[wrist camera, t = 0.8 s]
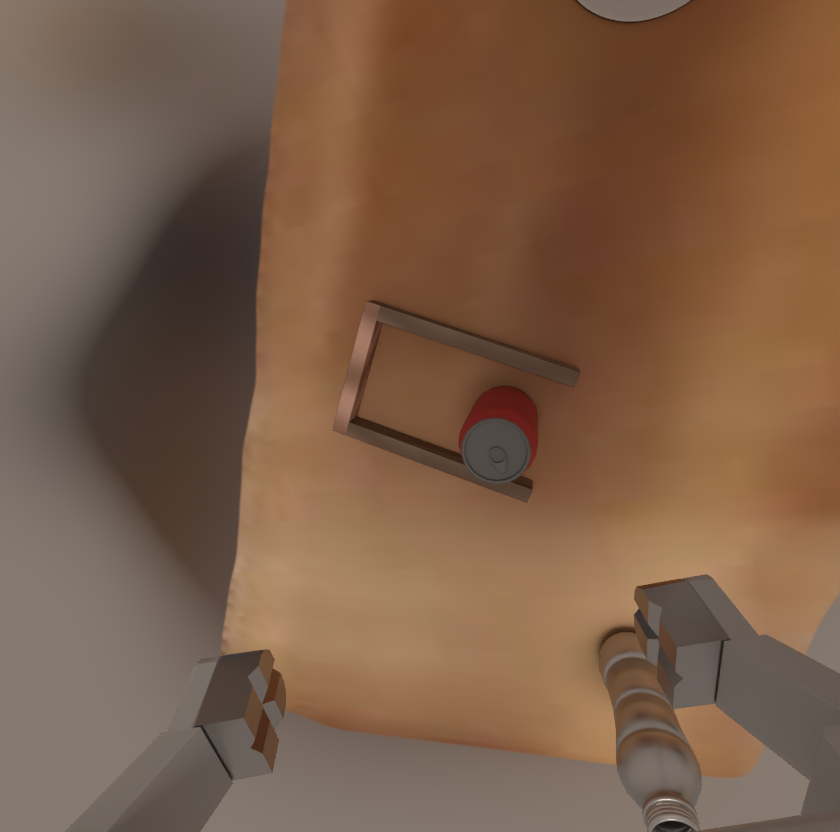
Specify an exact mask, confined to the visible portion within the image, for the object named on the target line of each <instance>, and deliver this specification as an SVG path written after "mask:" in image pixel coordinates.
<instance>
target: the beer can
mask: <svg viewBox="0 0 840 832" xmlns="http://www.w3.org/2000/svg"><path fill="white" fill-rule="evenodd" d="M537 445H538V419H537V412H536V407H535V406H534V404H533V402H532V400H531V399H530V398H529V397H528V396H527V395H526V394H525V393H524V392H522V391H520V390H518V389H516V388H514V387H506V386H501V387H495V388H492V389H490V390H488V391H486V392H484V393H483V394H482V395H481V396H480V397H479V398H478V399H477V401H476V403H475V405H474V406H473V408H472V410H471V412H470V414H469V415H468V417H467V419H466V421H465V423H464V425H463V427H462V429H461V431H460V437H459V448H460V452H461V457H462V459H463V462H464V464H465V466H466V467H467V469H468V471H469V472H470V473H471V474H473V475H474V476H475V477H476V478H477V479H480V480H482V481H484V482H486V483H491V484H503V483H508V482H511V481H513V480H515V479H517V478H518V477H519V476H520V475H521V474H523V473H524V472H525V471H526V470H527V469H528V468H529V467H530V466H531V464H532V462H533V460H534V458H535V456H536V452H537Z"/></svg>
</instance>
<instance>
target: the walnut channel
mask: <svg viewBox="0 0 840 832" xmlns="http://www.w3.org/2000/svg"><path fill="white" fill-rule="evenodd" d="M382 323H385V324H388V325H391V326H394V327H397V328H400V329H403V330H405V331H408V332H411V333H414V334H417V335H420V336H423V337H426V338H429V339H432V340H435V341H438V342H441V343H444V344H447V345H450V346H453V347H456V348H459V349H462V350H465V351H468V352H471V353H474V354H477V355H480V356H483V357H486V358H489V359H492V360H495V361H498V362H500V363H503V364H506V365H509V366H512V367H515V368H518V369H521V370H524V371H527V372H530V373H533V374H536V375H539V376H542V377H545V378H548V379H551V380H554V381H557V382H560V383H563V384H566V385H569V386H572V387H574V386H575V383H576V381H577V378H578V376H579V373H580V371H579V369H578V368H576V367H573V366H570V365H567V364H564V363H561V362H558V361H555V360H552V359H549V358H546V357H543V356H539V355H536V354H533V353H530V352H527V351H524V350H521V349H518V348H515V347H512V346H509V345H506V344H503V343H500V342H497V341H494V340H491V339H488V338H485V337H482V336H479V335H476V334H473V333H470V332H467V331H464V330H461V329H458V328H455V327H452V326H449V325H446V324H443V323H440V322H437V321H434V320H431V319H428V318H425V317H422V316H419V315H416V314H413V313H410V312H407V311H404V310H401V309H398V308H395V307H392V306H389V305H386V304H383V303H380V302H377V301H366V303H365V307H364V311H363V315H362V318H361V322H360V326H359V330H358V334H357V338H356V342H355V345H354V349H353V353H352V357H351V361H350V365H349V368H348V372H347V376H346V380H345V384H344V388H343V391H342V395H341V399H340V403H339V407H338V411H337V414H336V418H335V422H334V426H333V431H336V432H338V433H341V434H344V435H346V436H349V437H352V438H354V439H357V440H360V441H362V442H365V443H368V444H370V445H373V446H376V447H379V448H381V449H384V450H387V451H389V452H392V453H395V454H397V455H400V456H403V457H405V458H408V459H411V460H413V461H416V462H419V463H421V464H424V465H427V466H429V467H432V468H435V469H438V470H440V471H443V472H446V473H448V474H451V475H454V476H456V477H459V478H462V479H464V480H467V481H470V482H472V483H475V484H478V485H480V486H483V487H486V488H488V489H491V490H494V491H497V492H499V493H502V494H505V495H507V496H510V497H513V498H515V499H518V500H521V501H523V502H526V503H527V502H528V499H529V497H530V494H531V492H532V483H533V481H531V480H529V479H526V478H523V477H520V476H519V477H518V478H517V479H515V480H513V481H511V482H508V483H503V484H491V483H486V482H484V481H482V480H480V479H477V478H476V477H475V476H474V475H473V474H471V473H470V472H469V471H468V469H467V467H466V466H465V464H464V462H463V459H462V457H461V455H460V454H458V453H455V452H452V451H449V450H447V449H444V448H441V447H438V446H436V445H433V444H430V443H428V442H425V441H422V440H419V439H417V438H414V437H411V436H408V435H406V434H403V433H400V432H398V431H395V430H392V429H389V428H387V427H384V426H381V425H378V424H376V423H373V422H370V421H368V420H365V419H362V418H359V417H357V414H358V410H359V407H360V403H361V399H362V396H363V392H364V388H365V385H366V381H367V378H368V374H369V370H370V367H371V363H372V359H373V356H374V352H375V348H376V345H377V341H378V337H379V334H380V330H381V326H382Z"/></svg>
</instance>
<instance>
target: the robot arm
mask: <svg viewBox="0 0 840 832" xmlns="http://www.w3.org/2000/svg"><path fill="white" fill-rule="evenodd" d="M577 1H578V2H579V3H580V4H582V5H583V6H584V7H585V8H587V9H588V10H590V11H591V12H593V13H595V14H597V15H599V16H602V17H604V18H608V19H611V20H617V21H628V22H632V21H643V20H648V19H652V18H656V17H659V16H662V15H665V14H667V13H669V12H672V11H674V10H676V9H677V8H679V7H681V6H683V5H684V4H686V3H687V2H689V1H690V0H577ZM634 600H635V602H636V603H637V605H638V607H639V609H638V610H637V612H636V613H635V614H634V626H635V630H636V635H637V639H638V642H639V644H640V647H641V649H642V651H643V653H644V655H645V657H646V659H647V660H648V661H649V662H651V663H652V664H654V665H655V666H657V680H658V682H659V684H660V686H661V688H662V689H663V691H664V693H665V695H666V697H667V699H668V701H669V703H670V704H671V706H672V708H673V709H677V708H685V707H693V706H700V705H708V704H716V706H717V707H718V708H719V709H720V710H722V711H723V712H724V713H725V714H727V715H728V716H729V717H730V718H732V719H733V720H734V721H735V722H737V723H738V724H739V725H740V726H742V727H743V728H744V729H746V730H747V731H748V732H749V733H751V734H752V735H753V736H754V737H756V738H757V739H758V740H759V741H761V742H762V743H763V744H764V745H766V746H767V747H769V749H771V750H772V751H773V752H775V753H776V754H777V755H778V756H780V757H781V758H782V759H783V760H785V761H786V762H787V763H788V764H790V765H791V766H792V767H793V768H795V769H796V770H797V771H798V772H800V773H801V774H802V775H803V776H805V777H806V778H807V779H808V780H810V782H809V786H808V789H807V793H806V796H805V800H804V804H803V807H802V811H801V814H802V815H799V816H792V817H786V818H779V819H773V820H766V821H760V822H753V823H746V824H740V825H733V826H726V827H720V828H714V829H707V830H700V831H694V832H840V674H839V673H838V672H836V671H834V670H832V669H830V668H828V667H826V666H824V665H823V664H821V663H819V662H817V661H815V660H813V659H811V658H809V657H808V656H806V655H804V654H802V653H800V652H798V651H796V650H794V649H793V648H791V647H789V646H787V645H785V644H783V643H781V642H779V641H777V640H776V639H774V638H772V637H770V636H768V635H758V634H757V633H756V632H755V630H754V629H753V628H752V627H751V625H750V624H749V623H748V622H747V620H746V619H745V618H744V617H743V615H742V614H741V613H740V612H739V610H738V609H737V608H736V607H735V605H734V604H733V603H732V602H731V600H730V599H729V598H728V597H727V595H726V594H725V593H724V592H723V591H722V589H721V588H720V587H719V586H718V584H717V583H716V582H715V581H714V579H713V578H712V577H710V576H709V575H707V574H706V575H700V576H694V577H689V578H683V579H676V580H670V581H664V582H659V583H653V584H648V585H642V586H637V587H636V589H635V595H634ZM274 660H275V659H274V658H273V656H272V654H271V652H270V650H258V651H251V652H243V653H236V654H229V655H223V656H217V657H210V658H203V659H200V661H198V663H197V664H196V665H195V666H194V669H193V671H192V674H191V676H190V679H189V681H188V683H187V686H186V689H185V691H184V694H183V696H182V698H181V701H180V703H179V706H178V708H177V710H176V713H175V716H174V718H173V720H172V723H171V725H170V728H169V730H168V732H164V733H161V734H160V735H159V736H158V737H157V738H156V739H155V740H154V741H153V742H152V743H151V744H150V745H149V746H148V747H147V748H146V749H145V750H144V751H143V752H142V753H141V754H140V755H139V756H138V757H137V758H136V759H135V760H134V761H133V763H131V765H129V767H128V768H127V769H126V770H125V771H124V772H123V773H122V774H121V775H120V776H119V777H118V778H117V779H116V780H115V781H114V782H113V783H112V784H111V785H110V786H109V787H108V788H107V789H106V790H105V791H104V792H103V793H102V794H101V795H100V796H99V797H98V798H97V800H95V801H94V803H93V804H91V806H90V807H89V808H88V809H87V810H86V811H85V812H84V813H83V814H82V815H81V816H80V817H79V818H78V819H77V820H76V821H75V822H74V823H73V824H72V825H71V826H70V827H69V828H68V829H67V830H66V831H65V832H200V831H201V830H202V828H203V827H204V825H205V824H206V822H207V821H208V819H209V818H210V816H211V815H212V814H213V812H214V811H215V809H216V808H217V806H218V805H219V803H220V802H221V800H222V798H223V797H224V795H225V794H226V793H227V791H228V790H229V788H230V787H231V785H232V784H233V782H232V780H237V779H242V778H248V777H253V776H258V775H263V774H269V773H272V772H273V767H274V762H275V758H276V753H277V748H278V743H279V739H278V737H277V735H276V732H275V729H276V728H277V726H278V725H279V724H280V723H281V721H282V720H283V718H284V713H285V707H286V689H285V684H284V680H283V678H282V675H281V673H279V672H278V671H276V670H274V669H273V664H274Z"/></svg>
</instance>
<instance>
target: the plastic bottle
mask: <svg viewBox="0 0 840 832" xmlns="http://www.w3.org/2000/svg"><path fill="white" fill-rule="evenodd" d="M599 669H600V672H601V675H602V678H603V681H604V683H605V685H606V688H607V689H608V692H609V696H610V699H611V702H612V706H613V710H614V718H615V727H616V762H617V771H618V775H619V778H620V780H621V782H622V784H623V786H624V788H625V790H626V792H627V793H628V794H629V796H630V797H631V798H632V799H633V800H634V801H635V802H636V804H637V805H638V806H639V807H640V808H641V809H642V814H643V819H644V823H645V825H646V827H647V832H694V831H700V828H699V820H698V817H697V813H696V810H695V809H694V807H695V805H696V804H697V801H698V799H699V796H700V793H701V789H702V788H701V787H702V782H701V781H702V780H701V779H702V778H701V769H700V765H699V763H698V761H697V758H696V756H695V754H694V752H693V750H692V749H691V747H690V745H689V743H688V741H687V739H686V737H685V735H684V733H683V731H682V729H681V727H680V725H679V722H678V720H677V717H676V715H675V713H674V709H673V708H672V706H671V704H670V703H669V701H668V699H667V697H666V695H665V693H664V691H663V689H662V688H661V686H660V684H659V682H658V680H657V666H655V665H654V664H652V663H651V662H649V661H648V660H647V659H646V657H645V655H644V653H643V651H642V649H641V647H640V644H639V642H638V639H637V635H636V633H633V632H620V633H617V634H614V635H613V636H611V637H609V638H608V639H607V640H606V641H605V642H604V644H603V645H602V647H601V649H600V656H599Z"/></svg>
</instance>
